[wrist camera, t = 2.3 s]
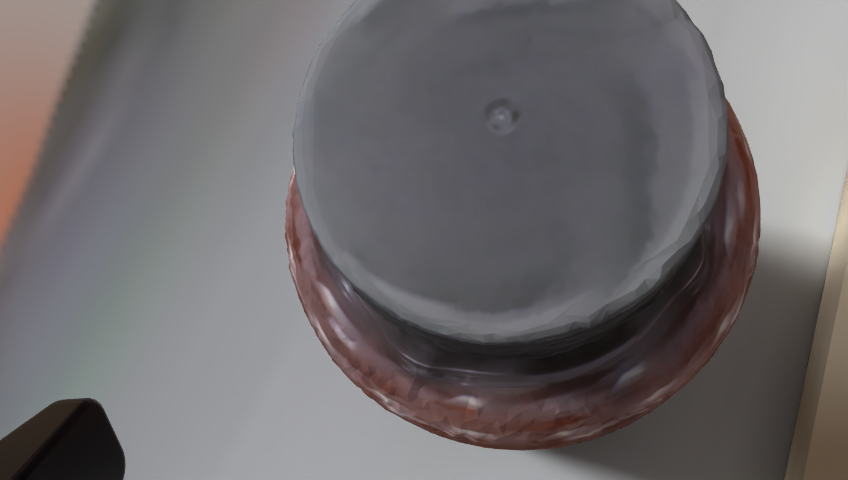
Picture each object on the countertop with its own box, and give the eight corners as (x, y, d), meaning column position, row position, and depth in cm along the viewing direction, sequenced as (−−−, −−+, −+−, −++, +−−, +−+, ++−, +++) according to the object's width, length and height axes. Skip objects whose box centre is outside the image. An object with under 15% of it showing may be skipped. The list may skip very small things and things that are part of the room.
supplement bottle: (360, 245, 19) (109, -16, 8) (590, 142, 19) (653, -269, 8) (458, 486, 17) (309, 573, 6) (712, 378, 17) (1007, 274, 6)
